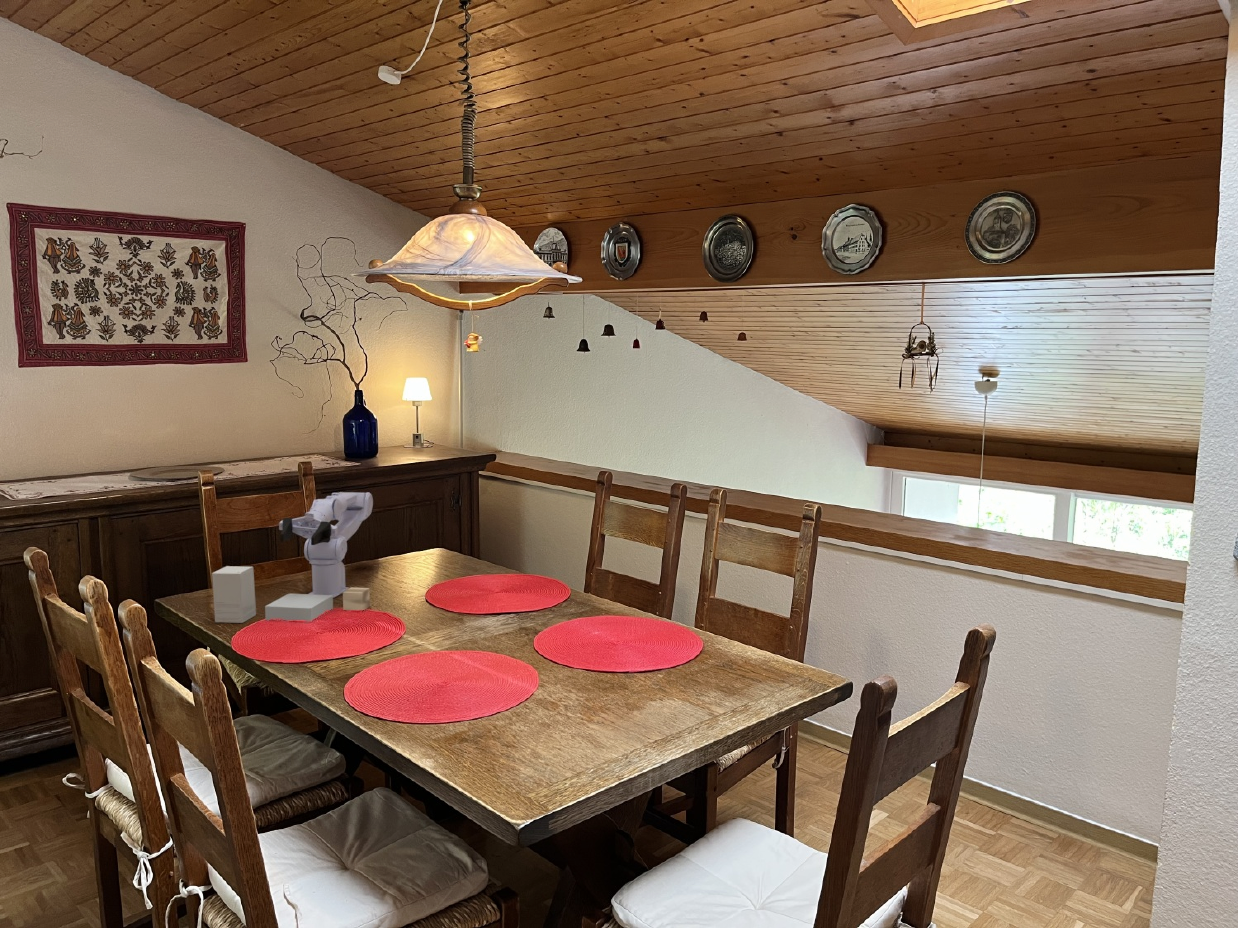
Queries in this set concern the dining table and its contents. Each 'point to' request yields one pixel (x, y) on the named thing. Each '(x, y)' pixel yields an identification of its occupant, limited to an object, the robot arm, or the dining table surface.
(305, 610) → the grey block
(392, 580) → the dining table surface
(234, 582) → the supplement box
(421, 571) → the dining table surface
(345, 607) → the birch cube
